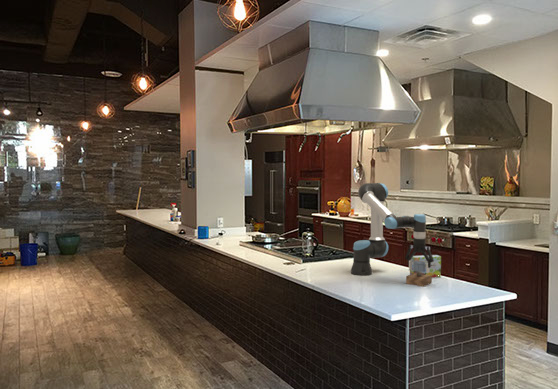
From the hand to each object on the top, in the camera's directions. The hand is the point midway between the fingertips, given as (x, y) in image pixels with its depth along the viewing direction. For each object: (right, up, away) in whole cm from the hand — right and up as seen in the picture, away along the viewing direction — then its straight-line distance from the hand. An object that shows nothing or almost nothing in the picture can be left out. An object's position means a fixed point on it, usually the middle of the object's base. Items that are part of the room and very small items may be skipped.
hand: (419, 271), depth 316 cm
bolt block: (0, -8, 0) cm, 8 cm away
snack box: (+10, -7, +20) cm, 23 cm away
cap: (0, +1, 0) cm, 1 cm away
